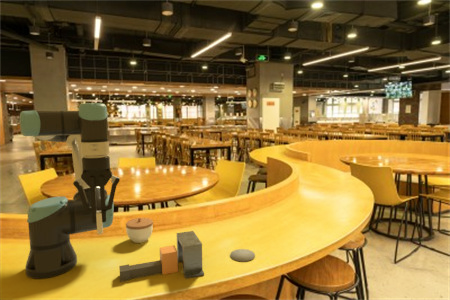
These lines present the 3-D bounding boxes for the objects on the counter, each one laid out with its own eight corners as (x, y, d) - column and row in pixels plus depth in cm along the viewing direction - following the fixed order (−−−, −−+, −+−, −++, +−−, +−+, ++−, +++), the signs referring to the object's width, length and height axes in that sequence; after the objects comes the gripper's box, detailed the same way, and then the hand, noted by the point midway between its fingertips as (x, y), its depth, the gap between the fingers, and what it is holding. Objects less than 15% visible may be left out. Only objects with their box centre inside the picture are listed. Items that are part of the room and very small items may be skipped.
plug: (119, 274, 96) (118, 254, 96) (174, 264, 103) (174, 245, 102) (120, 282, 92) (119, 261, 91) (177, 271, 98) (177, 251, 97)
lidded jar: (155, 234, 129) (155, 213, 127) (150, 245, 118) (149, 222, 117) (130, 235, 128) (129, 214, 127) (123, 245, 118) (122, 223, 116)
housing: (176, 257, 108) (175, 231, 107) (192, 254, 110) (191, 228, 109) (185, 278, 94) (185, 249, 92) (204, 275, 96) (203, 246, 95)
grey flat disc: (226, 252, 111) (226, 251, 111) (248, 248, 115) (248, 247, 115) (236, 263, 103) (235, 262, 103) (259, 259, 106) (259, 257, 106)
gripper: (69, 158, 82) (74, 240, 85) (119, 156, 86) (123, 234, 89) (72, 155, 89) (77, 231, 92) (118, 153, 93) (122, 225, 96)
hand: (100, 232), depth 90 cm, fingers closed
